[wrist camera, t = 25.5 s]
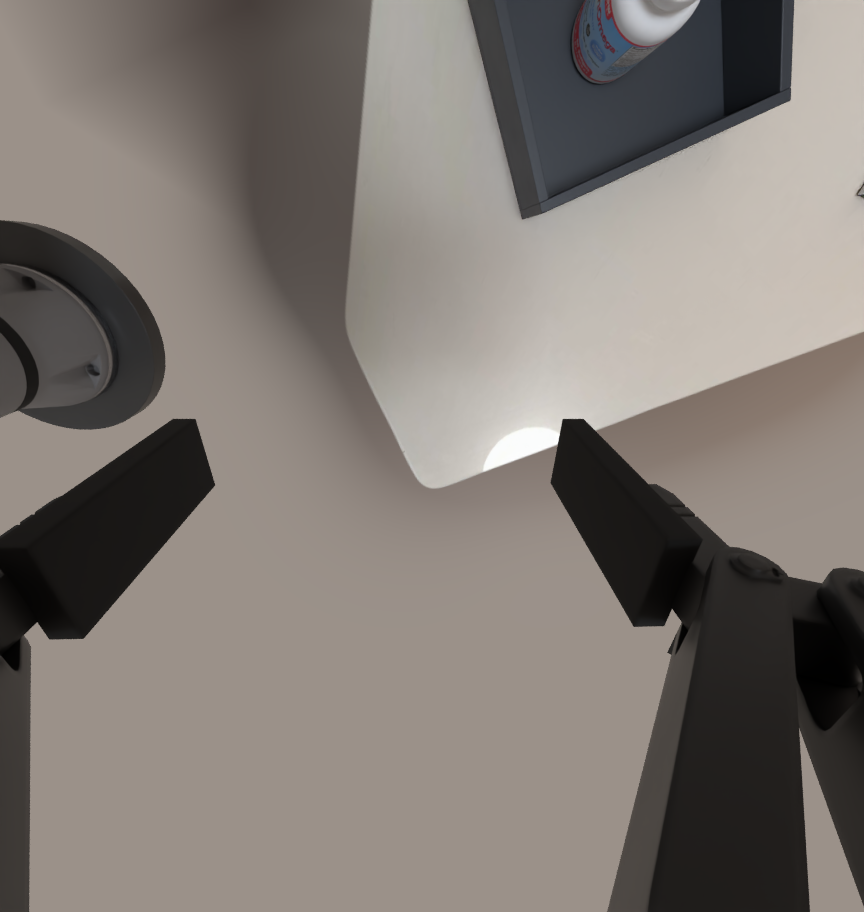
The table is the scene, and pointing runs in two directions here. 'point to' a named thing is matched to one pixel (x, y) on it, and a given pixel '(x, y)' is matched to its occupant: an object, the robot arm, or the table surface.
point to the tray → (623, 91)
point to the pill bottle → (623, 33)
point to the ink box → (861, 192)
